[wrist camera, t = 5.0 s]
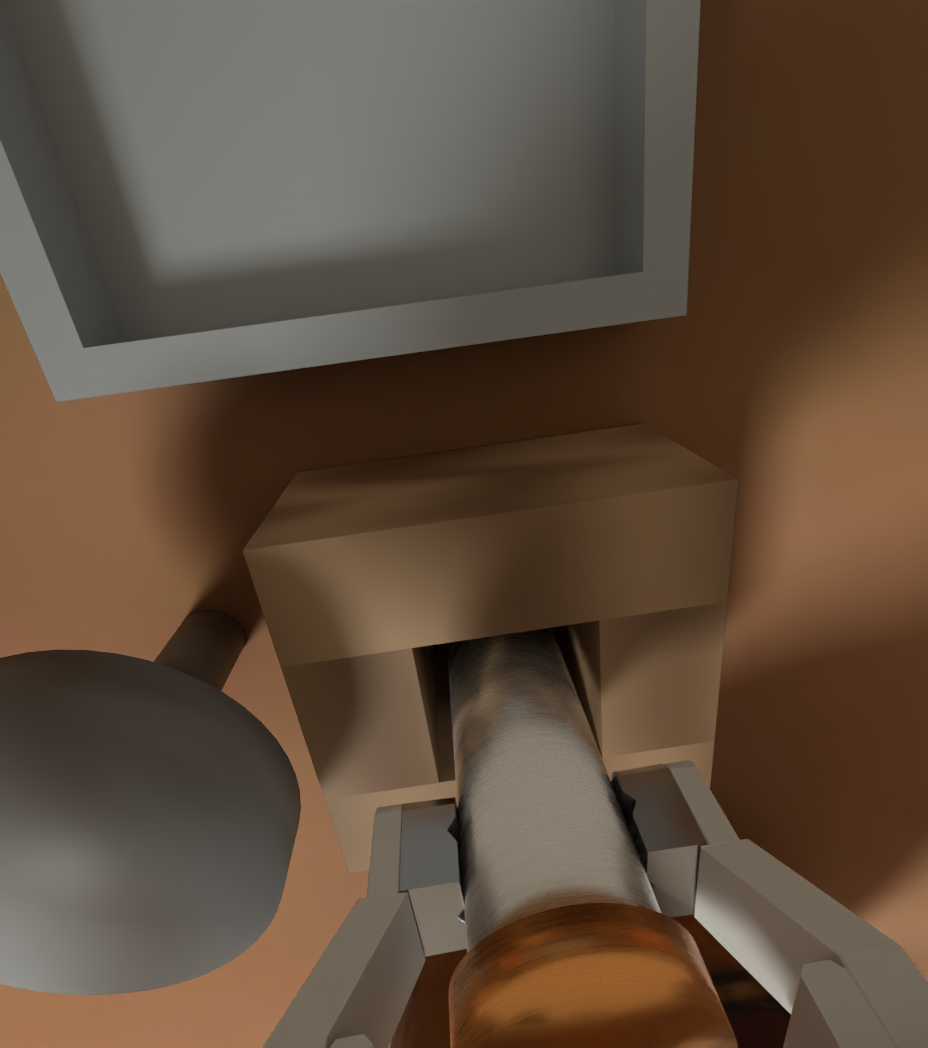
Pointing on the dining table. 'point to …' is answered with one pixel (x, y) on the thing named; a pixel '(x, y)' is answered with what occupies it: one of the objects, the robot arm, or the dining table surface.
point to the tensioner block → (348, 689)
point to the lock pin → (556, 875)
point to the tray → (336, 178)
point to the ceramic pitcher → (743, 998)
